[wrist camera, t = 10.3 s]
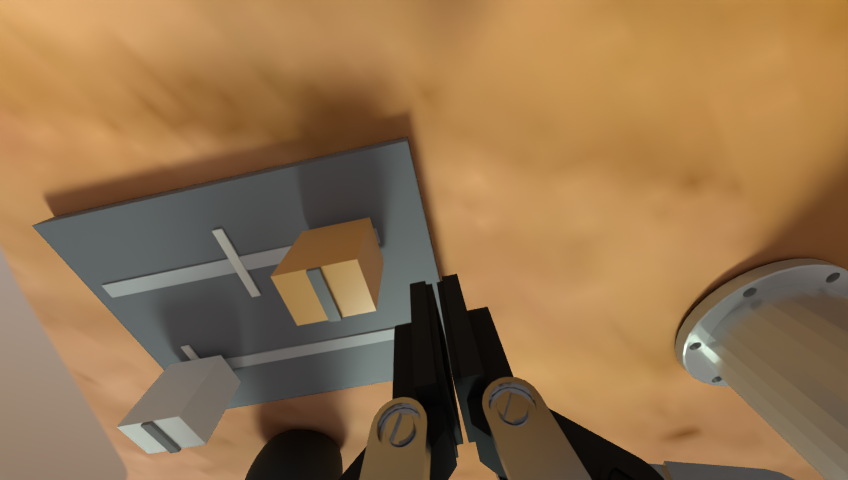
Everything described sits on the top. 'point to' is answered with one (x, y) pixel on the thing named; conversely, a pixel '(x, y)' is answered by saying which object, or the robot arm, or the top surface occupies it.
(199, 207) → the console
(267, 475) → the cola bottle
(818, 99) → the top surface
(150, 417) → the fader white
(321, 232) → the fader orange
